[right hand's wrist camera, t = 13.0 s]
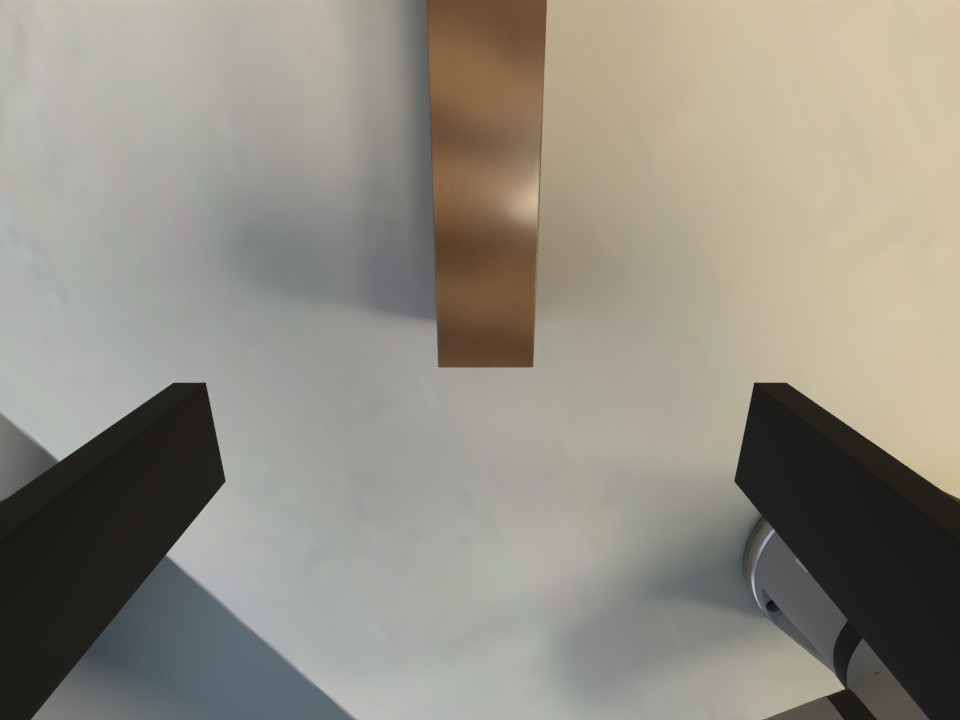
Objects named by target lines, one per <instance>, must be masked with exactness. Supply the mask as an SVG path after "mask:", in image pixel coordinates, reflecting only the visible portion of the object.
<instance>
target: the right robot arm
mask: <svg viewBox="0 0 960 720" xmlns="http://www.w3.org/2000/svg"><path fill="white" fill-rule="evenodd" d="M224 483H225V476H224V471H223V466H222V461H221V456H220V451H219V446H218V441H217V437H216V432H215V427H214V422H213V417H212V412H211V407H210V402H209V397H208V392H207V387H206V383H173V384H171V385H170V386H168V387H167V388H165V389H164V390H163V391H161V392H160V393H158V394H157V395H155V396H154V397H152V398H151V399H150V400H148V401H147V402H145V403H144V404H142V405H141V406H139V407H138V408H137V409H135V410H134V411H132V412H131V413H129V414H128V415H127V416H125V417H124V418H122V419H121V420H119V421H118V422H116V423H115V424H114V425H112V426H111V427H109V428H108V429H106V430H105V431H103V432H102V433H101V434H99V435H98V436H96V437H95V438H93V439H92V440H90V441H89V442H88V443H86V444H85V445H83V446H82V447H80V448H79V449H78V450H76V451H75V452H73V453H72V454H70V455H69V456H67V457H66V458H65V459H63V460H62V461H60V462H59V463H57V464H56V465H55V466H53V467H52V468H50V469H49V470H47V471H46V472H44V473H43V474H41V475H40V476H39V477H37V478H36V479H34V480H33V481H31V482H30V483H29V484H27V485H26V486H24V487H23V488H21V489H20V490H19V491H17V492H16V493H14V494H13V495H11V496H10V497H8V498H7V499H4V500H2V501H0V720H31V719H32V717H33V716H34V715H35V714H36V713H37V711H38V710H39V709H40V708H41V706H42V705H43V704H44V703H45V702H46V700H47V699H48V698H49V697H50V695H51V694H52V693H53V692H54V691H55V689H56V688H57V687H58V686H59V684H60V683H61V682H62V681H63V680H64V678H65V677H66V676H67V675H68V673H69V672H70V671H71V670H72V668H73V667H74V666H75V665H76V664H77V662H78V661H79V660H80V659H81V658H82V656H83V655H84V654H85V653H86V651H87V650H88V649H89V648H90V647H91V645H92V644H93V643H94V642H95V640H96V639H97V638H98V637H99V636H100V634H101V633H102V632H103V631H104V629H105V628H106V627H107V626H108V624H109V623H110V622H111V621H112V620H113V618H114V617H115V616H116V615H117V614H118V612H119V611H120V610H121V609H122V607H123V606H124V605H125V604H126V602H127V601H128V600H129V599H130V598H131V596H132V595H133V594H134V593H135V591H136V590H137V589H138V588H139V587H140V585H141V584H142V583H143V582H144V580H145V579H146V578H147V577H148V576H149V574H150V573H151V572H152V571H153V569H154V568H155V567H156V566H157V565H158V563H159V562H160V561H161V560H162V558H163V557H164V556H165V555H166V554H167V552H168V551H169V550H170V549H171V547H172V546H173V545H174V544H175V543H176V541H177V540H178V539H179V538H180V536H181V535H182V534H183V533H184V532H185V530H186V529H187V528H188V527H189V525H190V524H191V523H192V522H193V521H194V519H195V518H196V517H197V516H198V514H199V513H200V512H201V511H202V510H203V508H204V507H205V506H206V505H207V503H208V502H209V501H210V500H211V499H212V497H213V496H214V495H215V494H216V492H217V491H218V490H219V489H220V488H221V486H222V485H223V484H224ZM735 483H736V484H737V485H738V486H739V488H740V489H741V490H742V491H743V492H744V494H745V495H746V496H747V497H748V499H749V500H750V501H751V502H752V503H753V505H754V506H755V507H756V508H757V510H758V511H759V512H760V513H761V514H762V516H763V517H762V519H761V520H760V521H759V522H758V524H757V525H756V527H755V528H754V530H753V532H752V534H751V536H750V538H749V540H748V542H747V545H746V549H745V553H744V558H743V573H744V578H745V581H746V584H747V587H748V589H749V591H750V593H751V594H752V596H753V597H754V599H755V600H756V602H757V604H758V605H759V607H760V608H761V610H762V611H763V613H764V614H765V615H766V616H767V617H768V618H769V619H770V620H771V621H772V622H773V623H774V624H775V625H776V626H777V627H779V628H780V629H781V630H782V631H784V632H785V633H786V634H787V635H788V636H790V637H791V638H792V639H793V640H795V641H796V642H797V643H798V644H799V645H801V646H802V647H803V648H804V649H806V650H807V651H808V652H809V653H810V654H812V655H813V656H814V657H815V658H817V659H818V660H819V661H820V662H821V663H823V664H824V665H825V666H826V667H828V668H829V669H830V670H831V671H832V672H834V674H835V675H836V676H837V678H838V679H839V680H840V682H841V683H842V684H843V686H844V687H845V690H842V691H839V692H837V693H834V694H831V695H829V696H824V697H821V698H819V699H816V700H814V701H811V702H808V703H806V704H803V705H801V706H798V707H795V708H793V709H790V710H788V711H785V712H782V713H780V714H777V715H775V716H772V717H769V718H767V719H764V720H960V499H958V498H956V497H954V496H952V495H950V494H948V493H946V492H944V491H942V490H940V489H939V488H937V487H936V486H934V485H933V484H931V483H930V482H929V481H927V480H926V479H924V478H923V477H921V476H920V475H919V474H917V473H916V472H914V471H913V470H911V469H910V468H908V467H907V466H906V465H904V464H903V463H901V462H900V461H898V460H897V459H895V458H894V457H893V456H891V455H890V454H888V453H887V452H885V451H884V450H882V449H881V448H880V447H878V446H877V445H875V444H874V443H872V442H871V441H870V440H868V439H867V438H865V437H864V436H862V435H861V434H859V433H858V432H857V431H855V430H854V429H852V428H851V427H849V426H848V425H846V424H845V423H844V422H842V421H841V420H839V419H838V418H836V417H835V416H833V415H832V414H831V413H829V412H828V411H826V410H825V409H823V408H822V407H821V406H819V405H818V404H816V403H815V402H813V401H812V400H810V399H809V398H808V397H806V396H805V395H803V394H802V393H800V392H799V391H797V390H796V389H795V388H793V387H792V386H790V385H789V384H787V383H754V387H753V392H752V397H751V402H750V407H749V412H748V417H747V422H746V427H745V432H744V437H743V441H742V446H741V451H740V456H739V461H738V466H737V471H736V476H735Z"/></svg>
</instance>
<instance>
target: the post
mask: <svg viewBox="0 0 960 720" xmlns="http://www.w3.org/2000/svg"><path fill="white" fill-rule="evenodd" d="M546 10H547V0H427V22H428V54H429V86H430V118H431V150H432V182H433V214H434V246H435V278H436V310H437V342H438V367H533V355H534V329H535V302H536V275H537V249H538V222H539V196H540V169H541V143H542V116H543V89H544V63H545V36H546Z"/></svg>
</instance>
